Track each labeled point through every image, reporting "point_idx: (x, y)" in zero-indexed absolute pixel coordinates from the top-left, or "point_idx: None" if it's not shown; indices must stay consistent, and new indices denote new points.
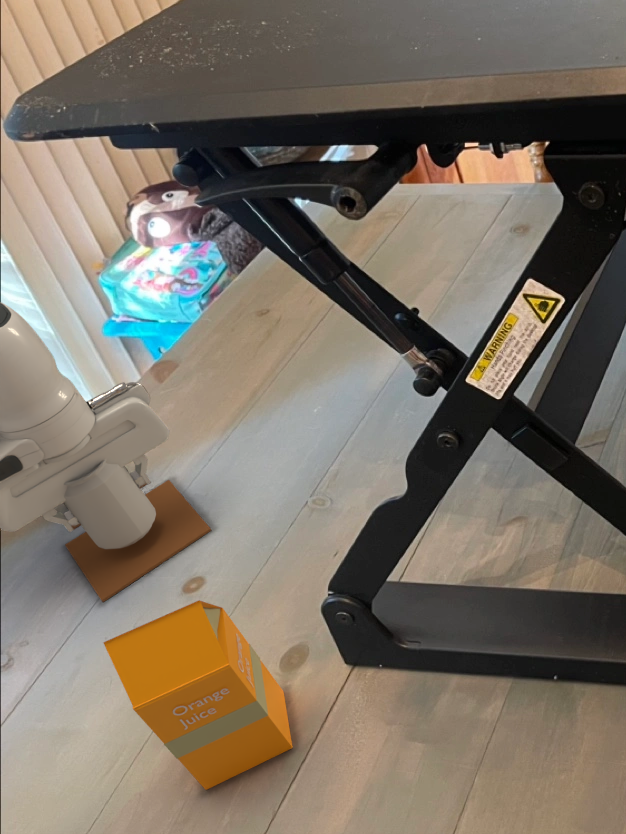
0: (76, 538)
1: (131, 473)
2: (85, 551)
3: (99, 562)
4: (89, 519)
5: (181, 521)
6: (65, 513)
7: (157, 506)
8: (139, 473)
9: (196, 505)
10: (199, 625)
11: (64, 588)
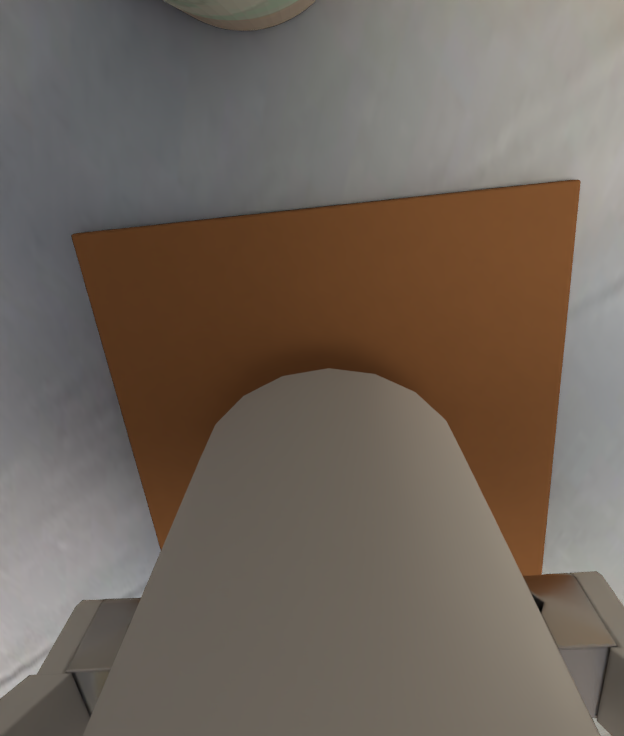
0: (122, 237)
1: (572, 652)
2: (151, 354)
3: (192, 450)
4: None
5: (490, 485)
6: (85, 677)
7: (461, 331)
8: (614, 723)
9: (566, 426)
10: None
11: (67, 453)
